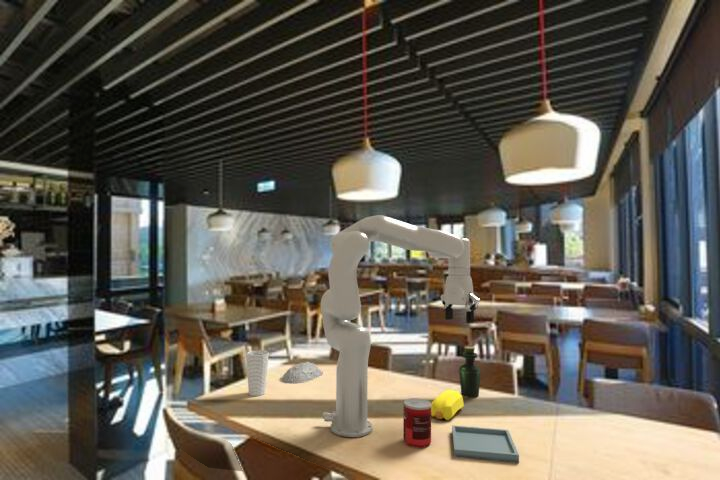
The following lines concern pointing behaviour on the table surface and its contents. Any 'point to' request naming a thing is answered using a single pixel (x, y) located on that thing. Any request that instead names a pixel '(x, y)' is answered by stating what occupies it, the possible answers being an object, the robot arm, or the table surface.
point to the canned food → (417, 422)
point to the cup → (257, 371)
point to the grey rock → (301, 373)
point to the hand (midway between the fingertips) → (459, 321)
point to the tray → (484, 444)
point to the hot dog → (446, 404)
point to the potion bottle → (469, 374)
